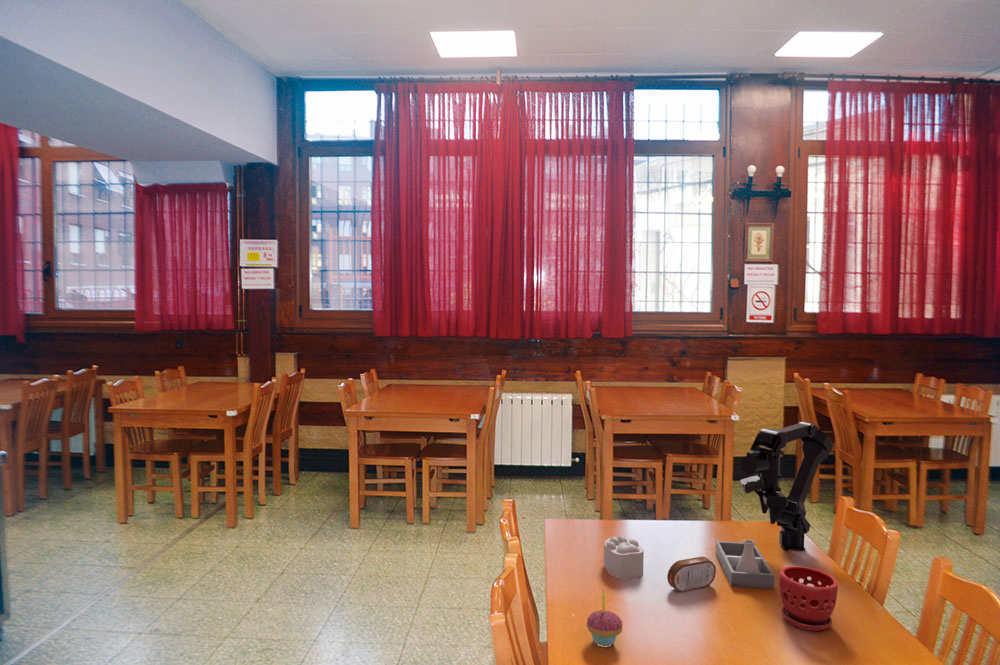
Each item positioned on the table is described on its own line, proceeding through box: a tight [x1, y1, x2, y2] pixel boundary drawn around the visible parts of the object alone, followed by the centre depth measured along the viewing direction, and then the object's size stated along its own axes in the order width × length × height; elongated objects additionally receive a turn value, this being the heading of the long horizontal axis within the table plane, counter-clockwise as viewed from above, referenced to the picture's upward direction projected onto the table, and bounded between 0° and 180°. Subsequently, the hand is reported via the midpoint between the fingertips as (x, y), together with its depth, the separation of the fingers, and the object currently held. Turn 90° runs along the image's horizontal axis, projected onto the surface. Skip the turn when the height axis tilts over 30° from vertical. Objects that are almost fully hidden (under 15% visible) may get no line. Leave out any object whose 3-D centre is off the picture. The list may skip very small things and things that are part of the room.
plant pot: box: [779, 565, 839, 632], centre depth 158 cm, size 13×13×12 cm
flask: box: [736, 539, 760, 573], centre depth 182 cm, size 7×7×10 cm
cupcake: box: [586, 589, 623, 646], centre depth 149 cm, size 9×8×12 cm
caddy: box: [715, 540, 776, 590], centre depth 187 cm, size 12×22×4 cm, turn 172°
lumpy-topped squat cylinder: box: [603, 535, 645, 580], centre depth 188 cm, size 10×13×9 cm
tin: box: [666, 556, 717, 593], centre depth 176 cm, size 15×3×8 cm, turn 111°
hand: (768, 518), depth 197 cm, fingers open, 9 cm apart
